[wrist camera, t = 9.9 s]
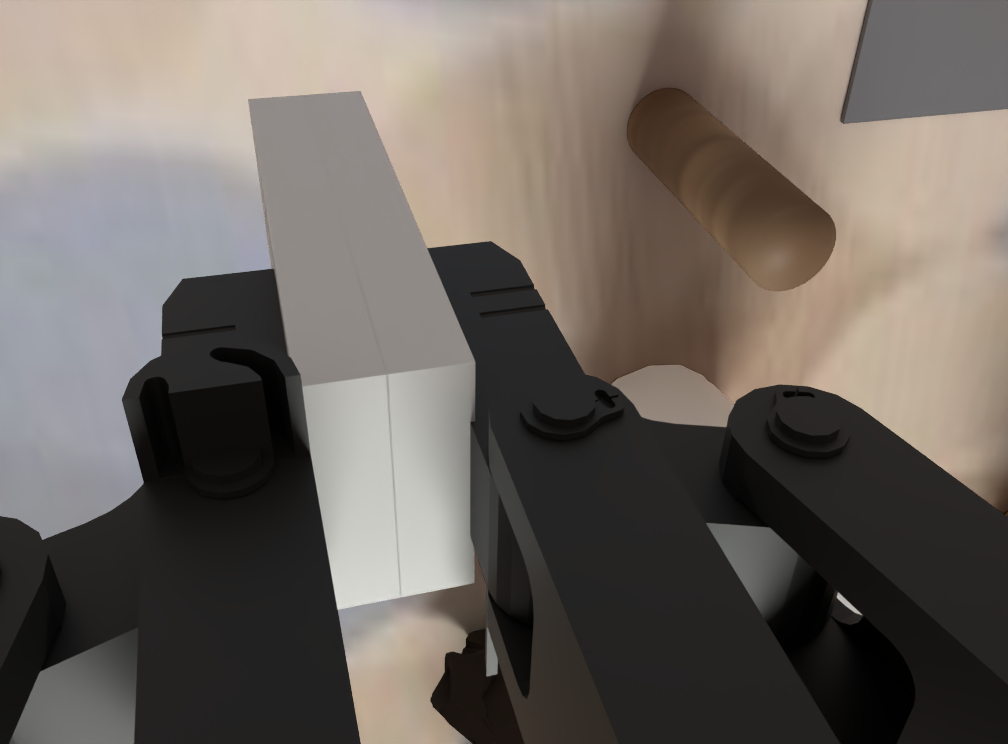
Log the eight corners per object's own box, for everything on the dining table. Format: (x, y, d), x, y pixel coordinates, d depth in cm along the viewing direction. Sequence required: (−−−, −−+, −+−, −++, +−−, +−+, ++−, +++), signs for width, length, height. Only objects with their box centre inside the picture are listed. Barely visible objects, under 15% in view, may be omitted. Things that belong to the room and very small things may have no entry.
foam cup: (599, 312, 37) (756, 555, 27) (786, 351, 41) (984, 577, 31) (510, 496, 42) (616, 763, 32) (685, 516, 45) (830, 760, 35)
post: (623, 163, 34) (740, 296, 27) (631, 90, 32) (756, 210, 25) (692, 157, 34) (824, 285, 27) (702, 85, 33) (845, 200, 26)
